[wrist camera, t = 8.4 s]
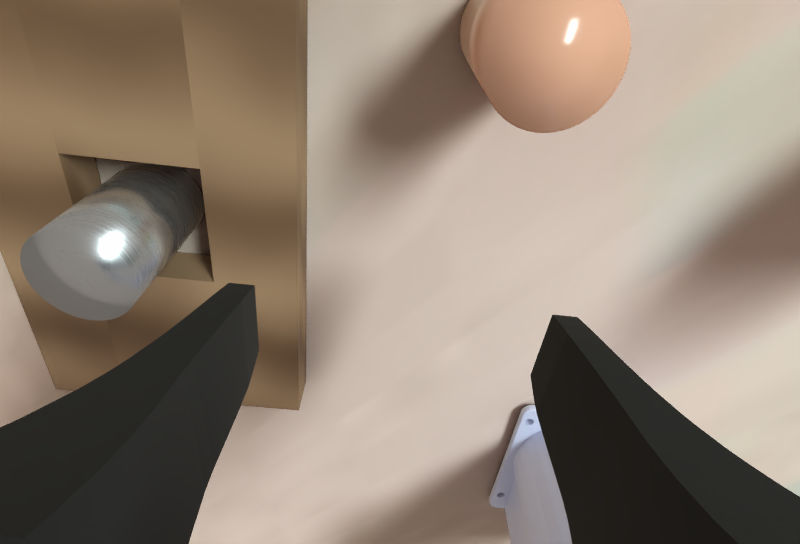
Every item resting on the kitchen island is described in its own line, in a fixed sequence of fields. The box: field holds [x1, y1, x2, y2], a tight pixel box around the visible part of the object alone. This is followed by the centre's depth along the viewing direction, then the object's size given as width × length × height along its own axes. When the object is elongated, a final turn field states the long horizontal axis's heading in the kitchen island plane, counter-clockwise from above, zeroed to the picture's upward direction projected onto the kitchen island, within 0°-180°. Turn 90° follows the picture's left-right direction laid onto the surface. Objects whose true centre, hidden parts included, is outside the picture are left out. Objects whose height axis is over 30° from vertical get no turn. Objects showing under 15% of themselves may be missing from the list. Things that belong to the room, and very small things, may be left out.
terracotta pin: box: [460, 0, 631, 133], centre depth 14 cm, size 4×4×6 cm
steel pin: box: [20, 162, 205, 321], centre depth 18 cm, size 4×4×6 cm
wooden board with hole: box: [0, 0, 307, 410], centre depth 19 cm, size 20×12×2 cm, turn 174°
